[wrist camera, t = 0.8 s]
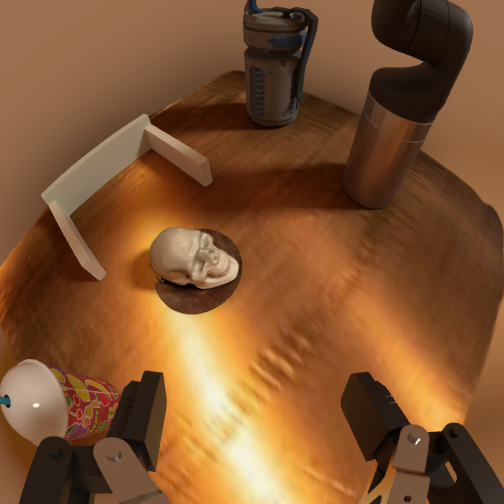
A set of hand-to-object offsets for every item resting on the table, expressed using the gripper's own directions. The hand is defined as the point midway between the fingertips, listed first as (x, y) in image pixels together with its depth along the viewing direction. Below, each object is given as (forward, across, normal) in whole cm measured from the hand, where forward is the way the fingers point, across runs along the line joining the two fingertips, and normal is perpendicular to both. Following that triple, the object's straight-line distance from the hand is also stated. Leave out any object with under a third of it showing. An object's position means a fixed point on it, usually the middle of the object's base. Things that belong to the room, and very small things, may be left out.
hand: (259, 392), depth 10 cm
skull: (+26, +5, +4) cm, 27 cm away
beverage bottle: (+47, -7, -21) cm, 52 cm away
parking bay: (+35, +17, -3) cm, 39 cm away
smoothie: (+14, +16, +20) cm, 29 cm away
